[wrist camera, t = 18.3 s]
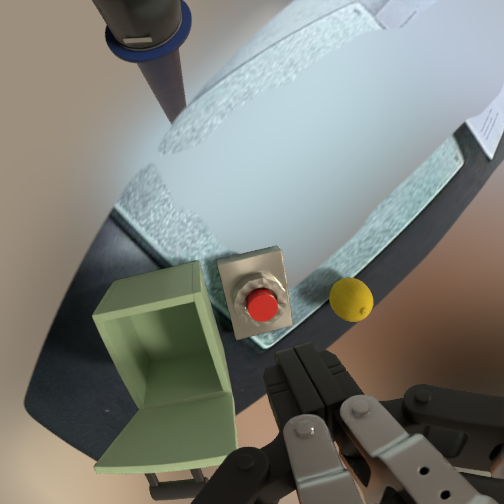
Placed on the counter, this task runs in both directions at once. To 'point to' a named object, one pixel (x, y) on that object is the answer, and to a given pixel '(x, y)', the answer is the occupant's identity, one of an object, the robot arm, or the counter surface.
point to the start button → (261, 305)
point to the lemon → (351, 299)
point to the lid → (174, 445)
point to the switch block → (253, 278)
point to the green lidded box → (164, 337)
